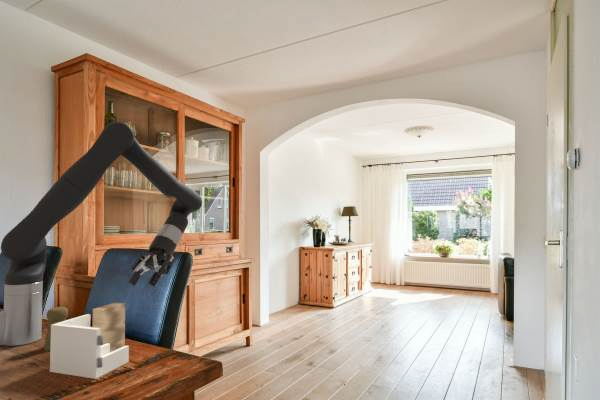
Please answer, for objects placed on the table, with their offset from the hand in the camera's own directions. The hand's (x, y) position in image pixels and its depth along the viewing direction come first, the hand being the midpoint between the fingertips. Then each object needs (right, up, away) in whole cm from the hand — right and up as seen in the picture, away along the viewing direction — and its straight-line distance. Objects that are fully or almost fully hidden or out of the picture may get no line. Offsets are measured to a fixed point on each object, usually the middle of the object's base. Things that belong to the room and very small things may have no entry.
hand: (141, 284), depth 114 cm
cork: (-21, -16, -8) cm, 27 cm away
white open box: (-3, -15, -22) cm, 27 cm away
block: (-5, -16, -10) cm, 19 cm away
